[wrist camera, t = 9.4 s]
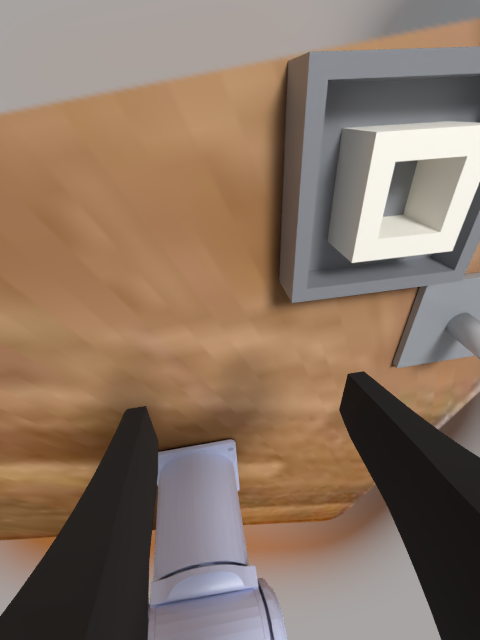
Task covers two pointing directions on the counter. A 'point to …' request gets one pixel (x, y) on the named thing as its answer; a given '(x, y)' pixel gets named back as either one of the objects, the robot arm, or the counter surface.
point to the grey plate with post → (442, 323)
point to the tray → (392, 109)
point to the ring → (424, 197)
